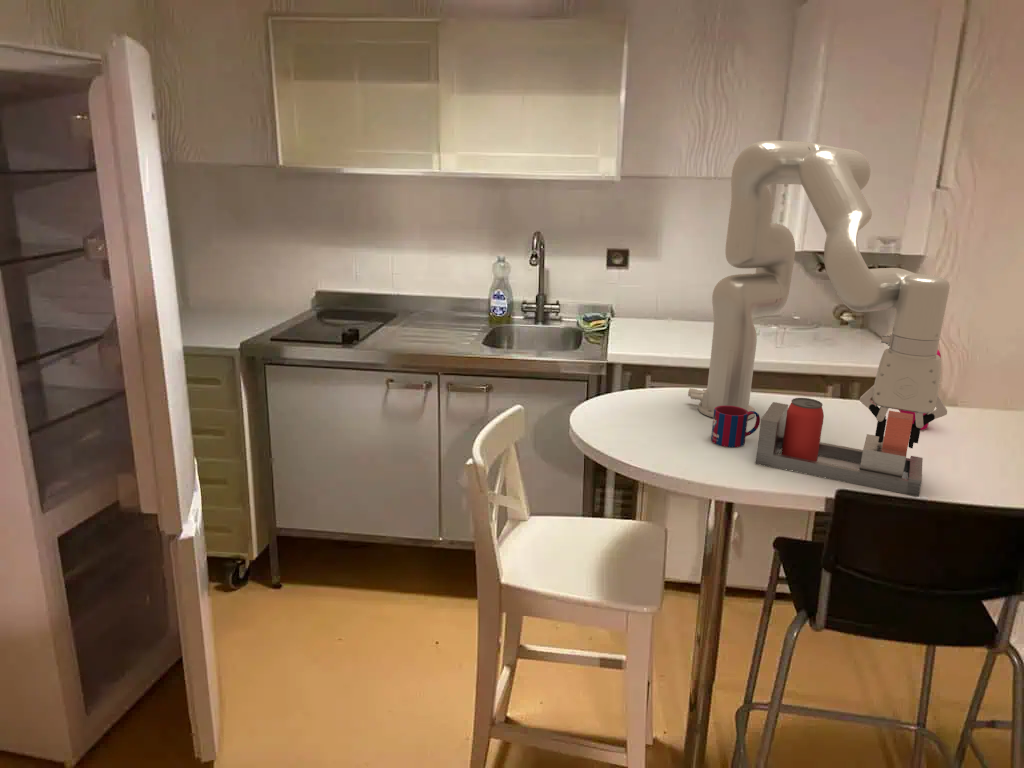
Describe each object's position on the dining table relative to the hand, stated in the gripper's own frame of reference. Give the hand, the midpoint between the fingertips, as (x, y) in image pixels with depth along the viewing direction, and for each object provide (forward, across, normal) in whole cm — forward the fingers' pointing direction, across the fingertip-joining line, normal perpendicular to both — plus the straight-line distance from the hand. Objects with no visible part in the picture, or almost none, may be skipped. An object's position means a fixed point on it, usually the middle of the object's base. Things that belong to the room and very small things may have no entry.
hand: (895, 442), depth 140 cm
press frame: (+7, -9, 0) cm, 11 cm away
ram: (+7, -2, 0) cm, 7 cm away
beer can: (+7, -16, 0) cm, 18 cm away
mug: (+7, -29, +4) cm, 30 cm away
